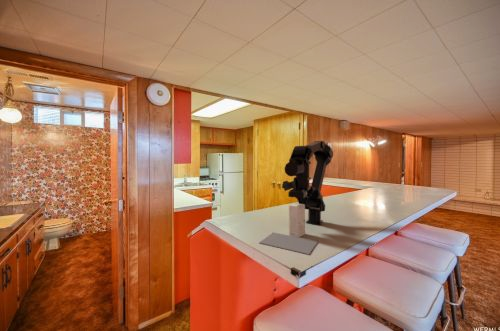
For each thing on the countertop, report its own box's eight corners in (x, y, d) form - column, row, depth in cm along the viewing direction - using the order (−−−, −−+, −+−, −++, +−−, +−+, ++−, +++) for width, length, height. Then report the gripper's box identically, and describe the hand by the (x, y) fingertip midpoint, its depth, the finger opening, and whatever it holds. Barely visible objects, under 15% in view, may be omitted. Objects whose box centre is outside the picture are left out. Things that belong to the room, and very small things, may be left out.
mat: (273, 233, 85) (273, 232, 85) (318, 241, 75) (318, 241, 75) (259, 243, 74) (259, 242, 74) (309, 254, 65) (309, 254, 65)
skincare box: (298, 238, 79) (298, 206, 79) (288, 235, 82) (288, 205, 82) (305, 233, 84) (305, 204, 84) (295, 231, 87) (295, 202, 87)
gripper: (291, 173, 101) (291, 204, 101) (276, 175, 85) (276, 213, 85) (315, 173, 95) (314, 207, 95) (303, 176, 79) (303, 217, 79)
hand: (302, 211), depth 89 cm, fingers closed
